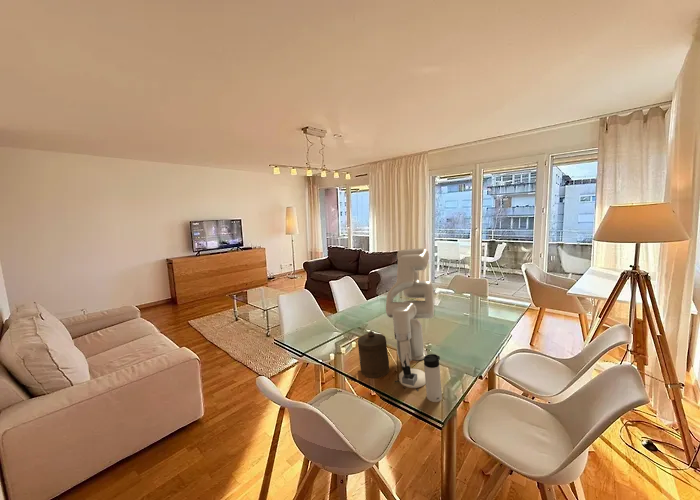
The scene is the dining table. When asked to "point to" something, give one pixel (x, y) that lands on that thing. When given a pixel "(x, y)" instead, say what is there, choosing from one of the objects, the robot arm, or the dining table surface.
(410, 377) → the peg
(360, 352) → the wooden container
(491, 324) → the dining table surface
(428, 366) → the travel mug
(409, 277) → the robot arm
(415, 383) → the dial
